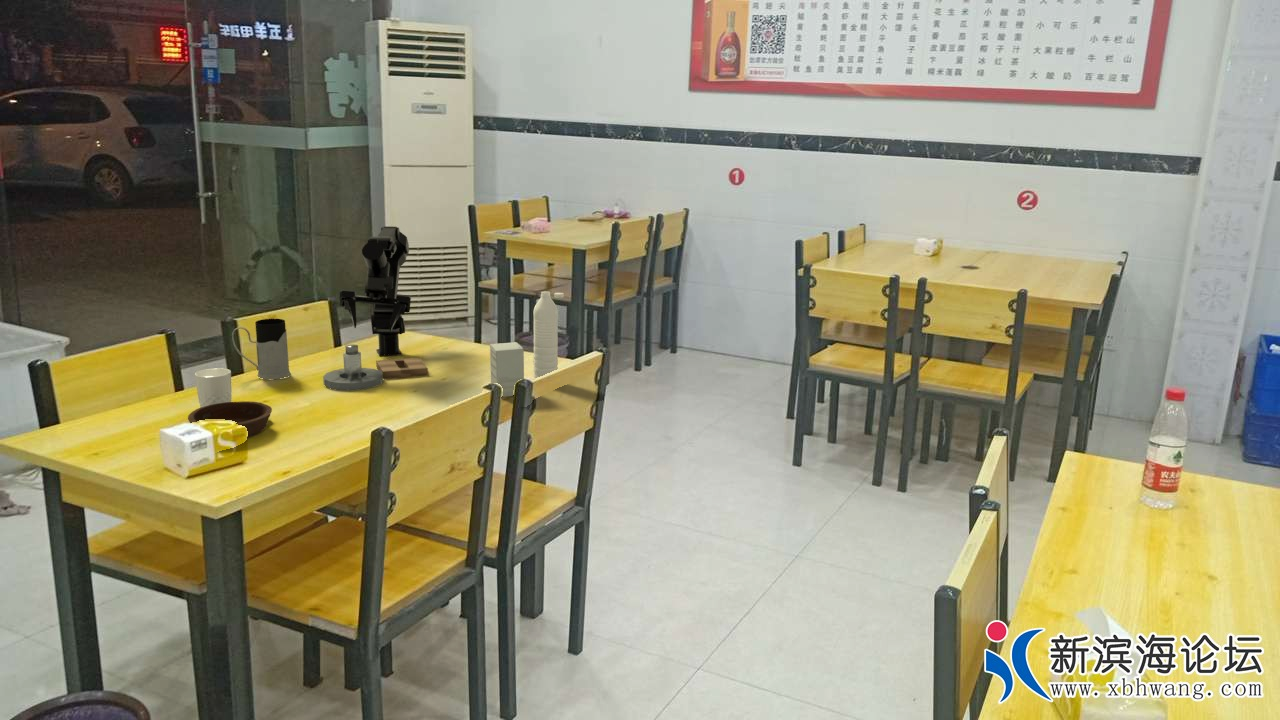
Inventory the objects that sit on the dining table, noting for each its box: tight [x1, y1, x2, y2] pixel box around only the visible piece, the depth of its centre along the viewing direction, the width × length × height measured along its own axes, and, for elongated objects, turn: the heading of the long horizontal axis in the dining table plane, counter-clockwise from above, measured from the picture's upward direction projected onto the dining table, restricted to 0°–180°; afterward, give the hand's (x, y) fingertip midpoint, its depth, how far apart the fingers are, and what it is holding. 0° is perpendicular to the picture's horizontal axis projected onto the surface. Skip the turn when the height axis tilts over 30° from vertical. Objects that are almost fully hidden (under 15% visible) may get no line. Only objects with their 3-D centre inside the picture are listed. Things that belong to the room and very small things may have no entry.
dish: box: [187, 400, 273, 438], centre depth 230 cm, size 17×22×5 cm
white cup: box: [194, 367, 233, 408], centre depth 243 cm, size 8×8×10 cm
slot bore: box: [375, 356, 429, 380], centre depth 282 cm, size 12×12×2 cm
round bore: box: [322, 367, 384, 391], centre depth 271 cm, size 15×15×2 cm
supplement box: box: [489, 341, 525, 398], centre depth 264 cm, size 7×7×13 cm
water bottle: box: [533, 290, 565, 379], centre depth 271 cm, size 9×6×25 cm
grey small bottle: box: [342, 344, 363, 379], centre depth 270 cm, size 4×4×10 cm
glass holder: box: [231, 318, 292, 380], centre depth 273 cm, size 9×14×15 cm, turn 104°
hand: (372, 329), depth 276 cm, fingers open, 9 cm apart
